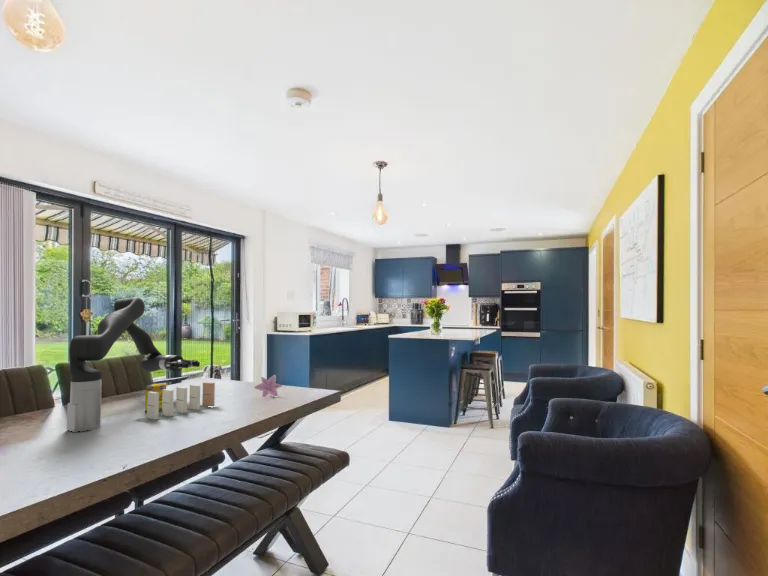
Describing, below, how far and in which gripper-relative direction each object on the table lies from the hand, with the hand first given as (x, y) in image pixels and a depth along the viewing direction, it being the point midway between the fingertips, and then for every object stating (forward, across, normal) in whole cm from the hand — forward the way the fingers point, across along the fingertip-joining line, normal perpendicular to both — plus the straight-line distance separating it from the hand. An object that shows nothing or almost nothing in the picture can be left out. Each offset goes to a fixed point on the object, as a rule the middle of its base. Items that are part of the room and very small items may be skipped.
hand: (193, 364), depth 192 cm
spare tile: (+10, +1, +17) cm, 20 cm away
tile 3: (+10, -12, +18) cm, 23 cm away
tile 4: (+10, -18, +18) cm, 27 cm away
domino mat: (+10, -13, +18) cm, 25 cm away
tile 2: (+10, -6, +18) cm, 21 cm away
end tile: (+10, -24, +18) cm, 31 cm away
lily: (+16, +30, +18) cm, 38 cm away
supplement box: (-2, -16, +18) cm, 24 cm away
